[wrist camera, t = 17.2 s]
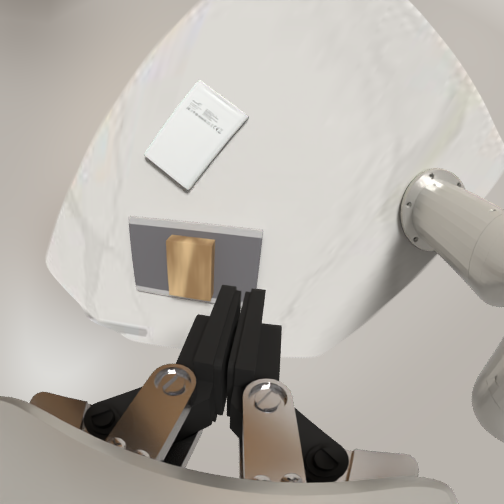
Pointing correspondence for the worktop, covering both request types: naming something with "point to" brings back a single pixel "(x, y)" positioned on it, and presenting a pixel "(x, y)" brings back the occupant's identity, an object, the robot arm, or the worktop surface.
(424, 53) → the worktop surface
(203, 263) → the wooden block
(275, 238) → the worktop surface
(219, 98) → the external hard drive
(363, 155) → the worktop surface
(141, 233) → the mat
